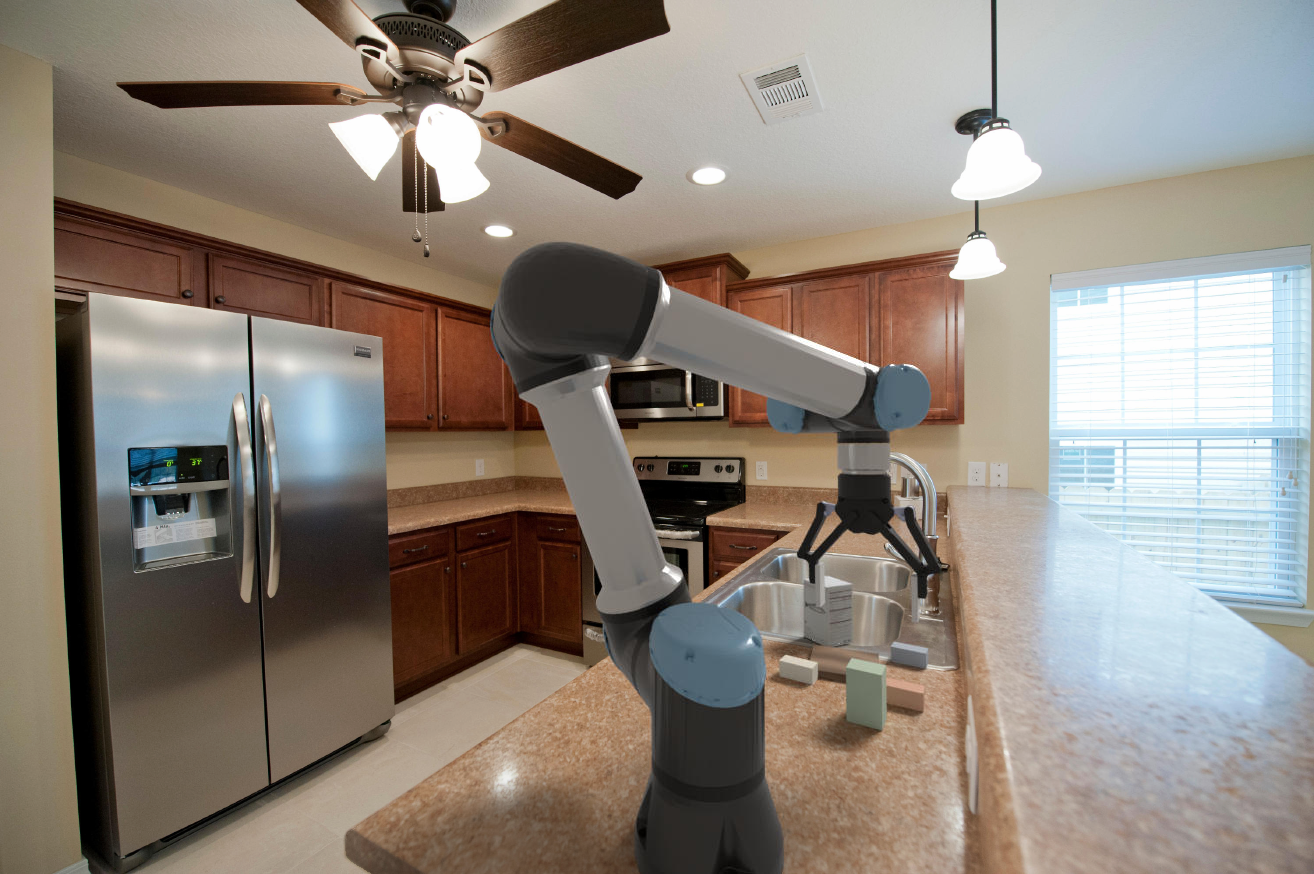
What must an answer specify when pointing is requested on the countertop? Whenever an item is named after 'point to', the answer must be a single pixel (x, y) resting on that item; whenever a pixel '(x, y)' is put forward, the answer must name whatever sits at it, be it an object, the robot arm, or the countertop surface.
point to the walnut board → (837, 660)
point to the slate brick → (909, 655)
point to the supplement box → (829, 613)
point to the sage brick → (866, 693)
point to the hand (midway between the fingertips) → (865, 612)
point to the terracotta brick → (905, 694)
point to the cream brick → (798, 669)
